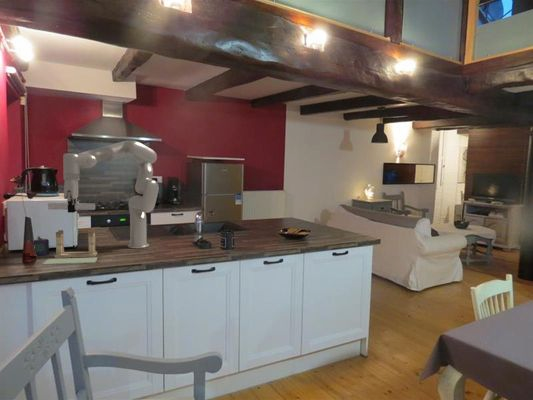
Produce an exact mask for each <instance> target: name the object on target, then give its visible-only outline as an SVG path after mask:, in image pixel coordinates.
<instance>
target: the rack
mask: <svg viewBox="0 0 533 400" xmlns="http://www.w3.org/2000/svg"><path fill="white" fill-rule="evenodd" d="M87 232H88V234H87V236H88V237H87V238H88V251H68V252H67V251H65V242H64V241H65V240H64V238H65V237H64V230H62V229H61V230H60V229H59V230H58V231H56V232H55V248H56V249H55V251H56V253H55V255H54V259H66V258H71V257H72V258H96V256H97V255H98V251H96V229H90V230H89V231H87Z"/></svg>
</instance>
